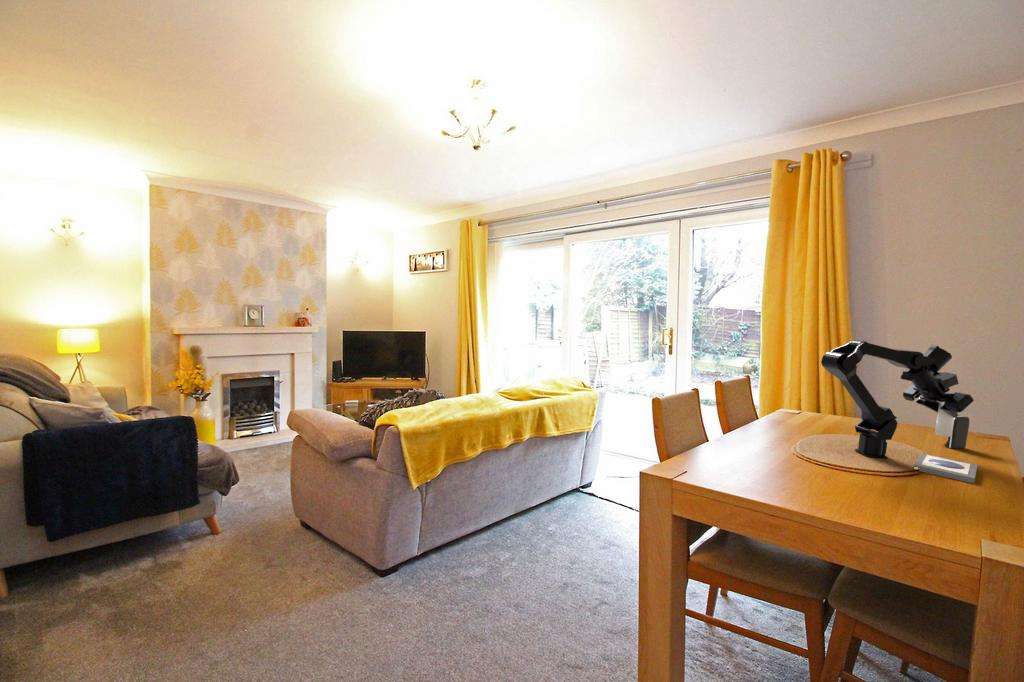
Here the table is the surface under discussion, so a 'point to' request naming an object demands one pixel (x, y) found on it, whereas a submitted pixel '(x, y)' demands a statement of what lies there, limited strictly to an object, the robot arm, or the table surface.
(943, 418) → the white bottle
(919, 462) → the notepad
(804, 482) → the table surface
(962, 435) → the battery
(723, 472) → the table surface
